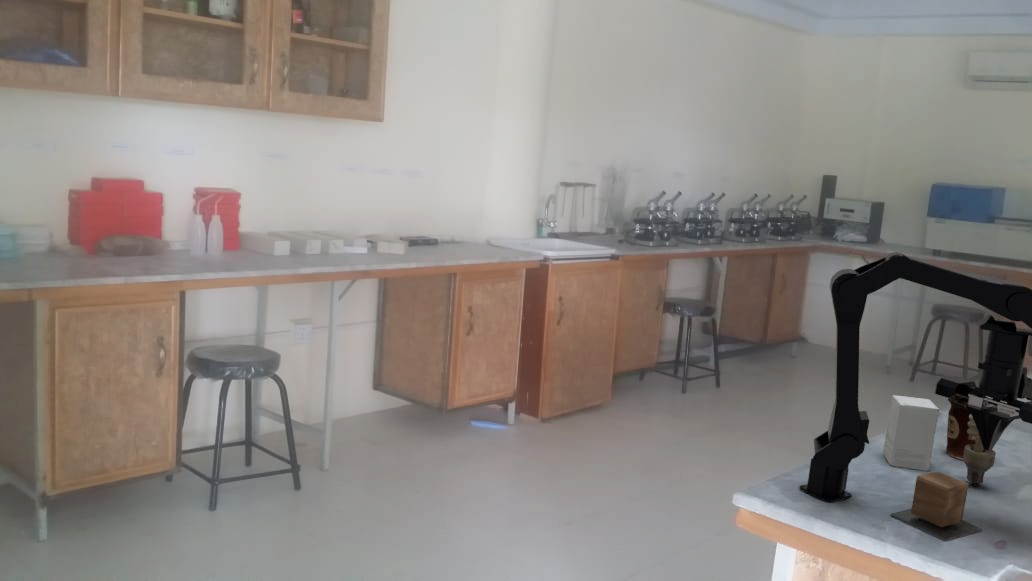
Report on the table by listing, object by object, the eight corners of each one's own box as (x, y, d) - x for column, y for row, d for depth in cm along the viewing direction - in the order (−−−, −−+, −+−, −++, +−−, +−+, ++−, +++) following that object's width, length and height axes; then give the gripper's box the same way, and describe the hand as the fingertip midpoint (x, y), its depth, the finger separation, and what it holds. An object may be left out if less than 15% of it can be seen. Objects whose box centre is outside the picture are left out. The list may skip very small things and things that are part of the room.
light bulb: (988, 493, 163) (1002, 415, 161) (955, 485, 166) (969, 408, 164) (990, 485, 168) (1004, 408, 166) (958, 477, 171) (972, 402, 168)
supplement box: (929, 471, 173) (940, 409, 170) (889, 466, 174) (899, 404, 172) (920, 459, 180) (930, 398, 178) (881, 453, 181) (891, 393, 179)
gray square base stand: (945, 541, 141) (952, 499, 140) (890, 515, 149) (896, 476, 148) (981, 530, 146) (989, 490, 145) (926, 506, 155) (933, 468, 153)
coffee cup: (939, 457, 181) (950, 396, 179) (937, 445, 189) (947, 387, 187) (987, 466, 178) (999, 404, 176) (983, 454, 186) (994, 394, 184)
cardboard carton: (941, 527, 144) (948, 488, 143) (910, 513, 149) (917, 475, 148) (961, 521, 147) (968, 483, 146) (931, 508, 152) (937, 471, 150)
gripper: (1089, 370, 142) (1071, 463, 145) (978, 342, 157) (963, 427, 160) (1052, 375, 136) (1033, 472, 139) (940, 346, 152) (925, 433, 154)
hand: (987, 449), depth 148 cm, fingers closed
